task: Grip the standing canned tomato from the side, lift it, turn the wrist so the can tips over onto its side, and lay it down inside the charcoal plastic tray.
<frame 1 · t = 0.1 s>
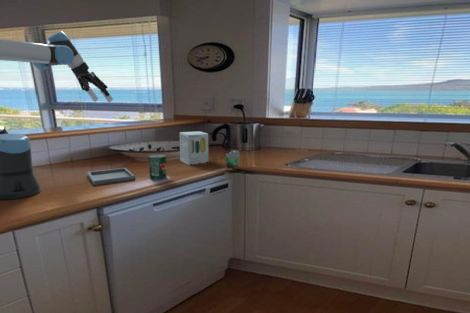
hand: (103, 100, 162), 36 cm above the countertop, tool tilted 35°, fingers open, 13 cm apart
tray: (110, 177, 148), on the countertop
canned tomato: (158, 178, 150), on the countertop
supplement box: (194, 162, 186), on the countertop
food container: (233, 170, 168), on the countertop
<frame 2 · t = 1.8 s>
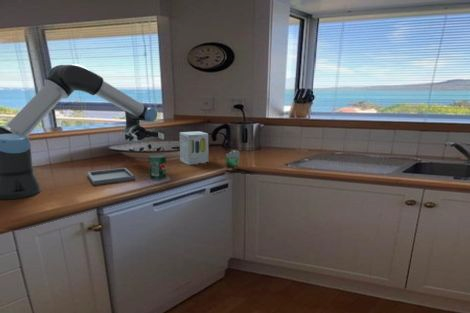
hand: (150, 137, 154), 18 cm above the countertop, tool horizontal, fingers open, 13 cm apart
nothing on the countertop moved.
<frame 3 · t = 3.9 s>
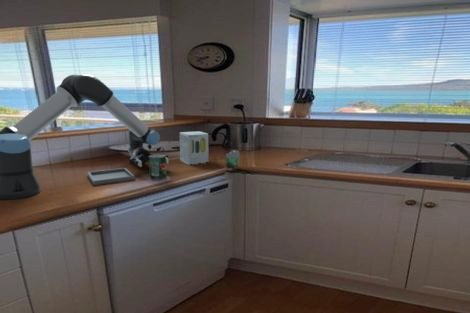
hand: (154, 162, 153), 6 cm above the countertop, tool horizontal, fingers open, 13 cm apart
nothing on the countertop moved.
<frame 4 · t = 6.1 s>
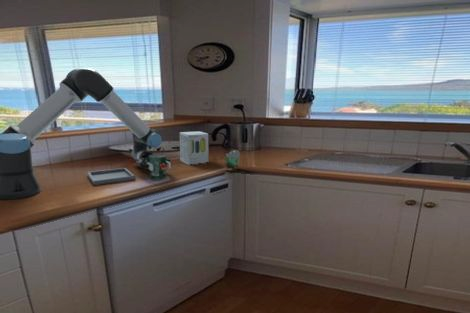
hand: (161, 166, 144), 7 cm above the countertop, tool horizontal, fingers closed on canned tomato, 8 cm apart
canned tomato: (158, 178, 150), on the countertop, touching gripper
everything else where it was.
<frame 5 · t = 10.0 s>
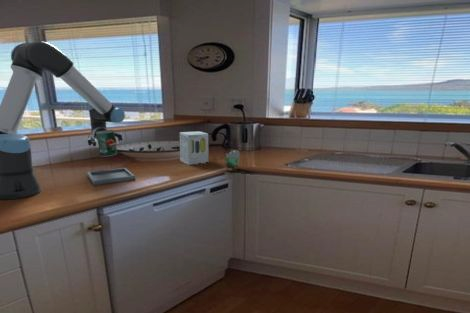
hand: (107, 142, 140), 18 cm above the countertop, tool horizontal, fingers closed on canned tomato, 8 cm apart
canned tomato: (108, 154, 146), point 11 cm above the countertop, touching gripper
everything else where it was.
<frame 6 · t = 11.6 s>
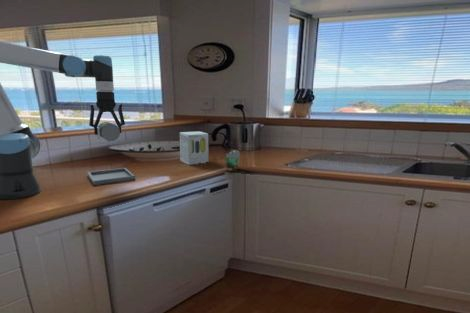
hand: (108, 140, 145), 18 cm above the countertop, tool pointing down, fingers closed on canned tomato, 8 cm apart
canned tomato: (111, 132, 138), point 23 cm above the countertop, touching gripper
everything else where it was.
when the fingers open (2 cm above the countertop, at t = 14.0 s): canned tomato drops 2 cm, resting on tray.
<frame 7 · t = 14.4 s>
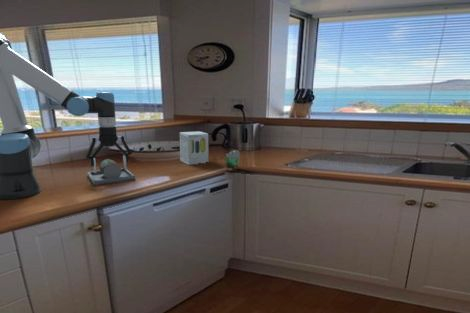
hand: (110, 170, 148), 3 cm above the countertop, tool pointing down, fingers open, 13 cm apart
canned tomato: (112, 171, 142), point 5 cm above the countertop, touching tray
everything else where it was.
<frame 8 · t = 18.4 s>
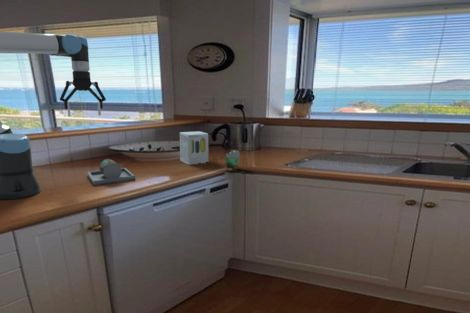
hand: (84, 115, 152), 29 cm above the countertop, tool pointing down, fingers open, 13 cm apart
nothing on the countertop moved.
at the end: canned tomato tilted 90°; canned tomato inside the target area on the tray (6.7 cm from its centre), point 4.5 cm above the tray's base; the gripper is holding nothing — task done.
